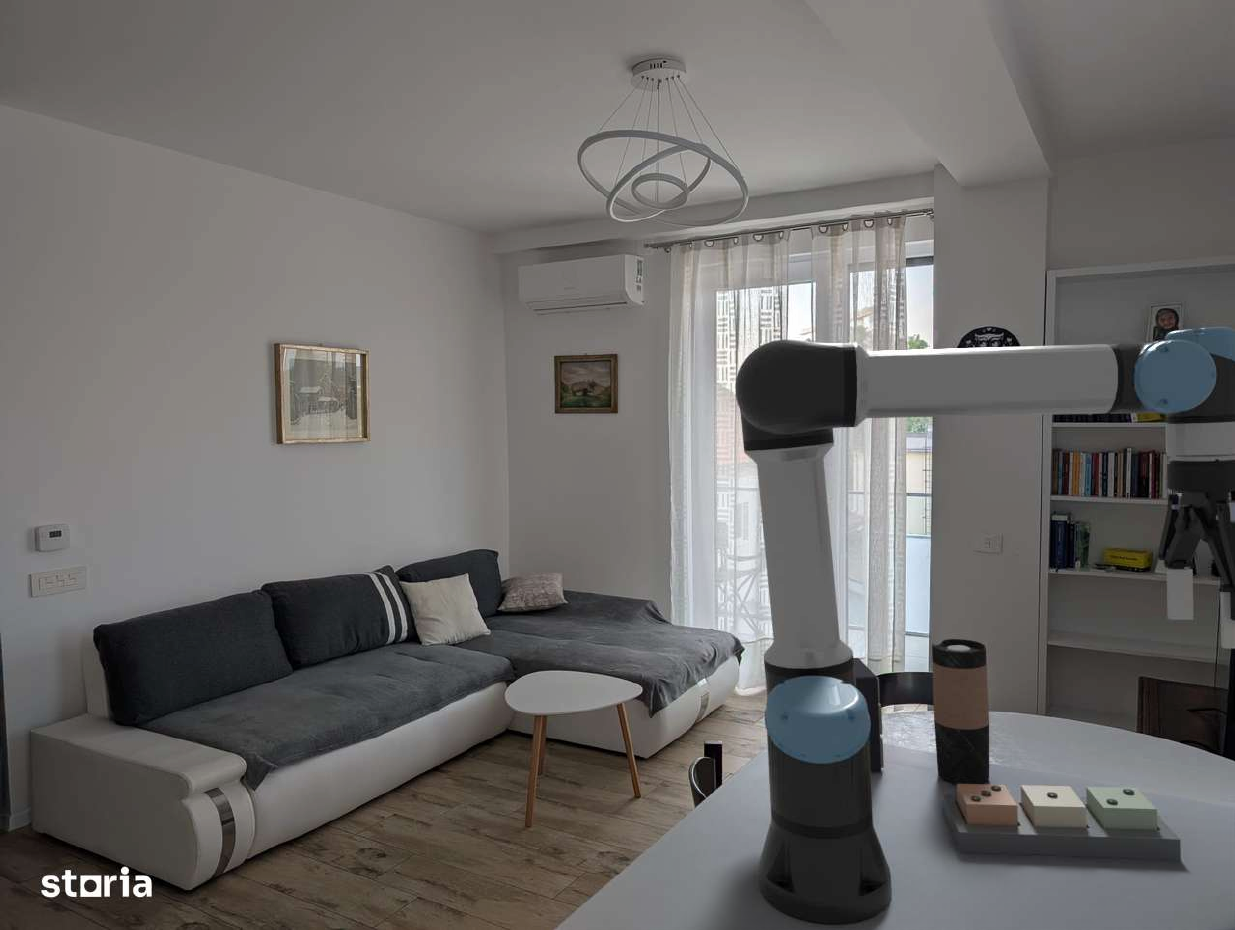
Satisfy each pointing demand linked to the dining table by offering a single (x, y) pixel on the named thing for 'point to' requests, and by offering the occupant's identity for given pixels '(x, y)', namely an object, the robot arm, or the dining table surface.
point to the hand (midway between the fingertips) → (1206, 632)
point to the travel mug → (961, 711)
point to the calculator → (871, 711)
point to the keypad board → (1060, 837)
